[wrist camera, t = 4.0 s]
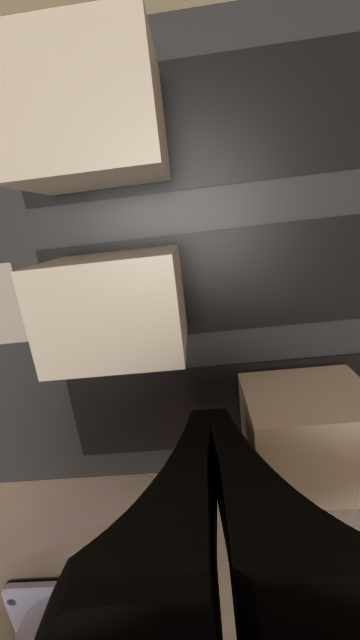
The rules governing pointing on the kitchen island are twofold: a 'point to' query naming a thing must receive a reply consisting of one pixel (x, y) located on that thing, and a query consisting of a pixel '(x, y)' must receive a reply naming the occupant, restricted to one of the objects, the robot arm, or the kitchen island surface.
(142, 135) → the cream squarish block
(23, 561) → the kitchen island surface
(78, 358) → the tab
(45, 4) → the kitchen island surface
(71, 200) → the switch bank
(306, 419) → the beige block
